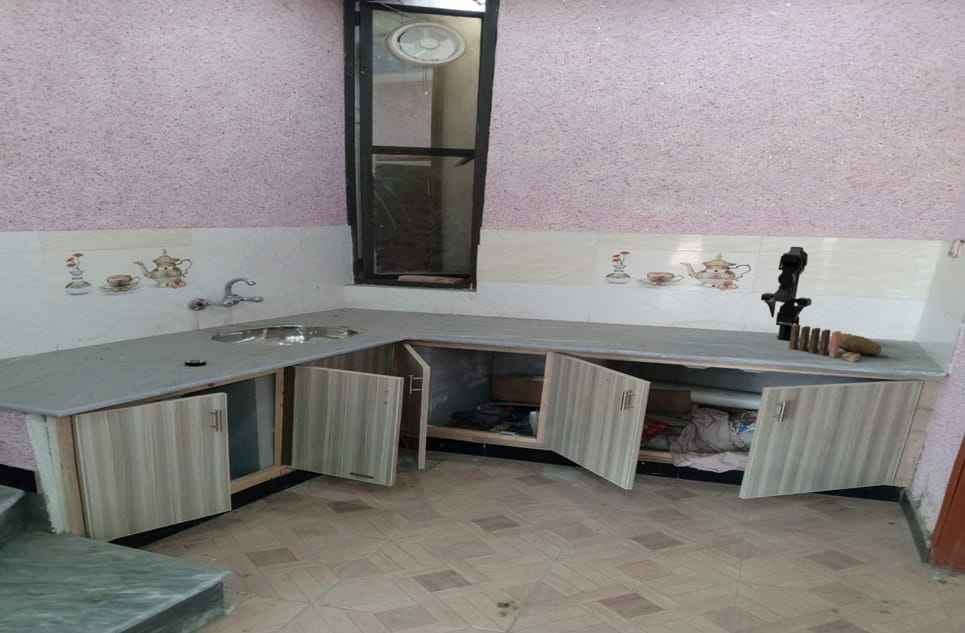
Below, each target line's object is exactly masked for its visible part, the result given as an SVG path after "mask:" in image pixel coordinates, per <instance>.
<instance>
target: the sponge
mask: <svg viewBox="0 0 965 633" xmlns="http://www.w3.org/2000/svg"><path fill="white" fill-rule="evenodd" d="M839 348H841V349H844V350H847V351H849V352H852V353H857V354H860V355H878V354H881V353H882V346H881V344H879V343H878V342H876V341H874V340H871V339H869V338H866V337H864V336H860V335H853V334H850V333H842V332H841V337H840V343H839Z"/></svg>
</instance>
